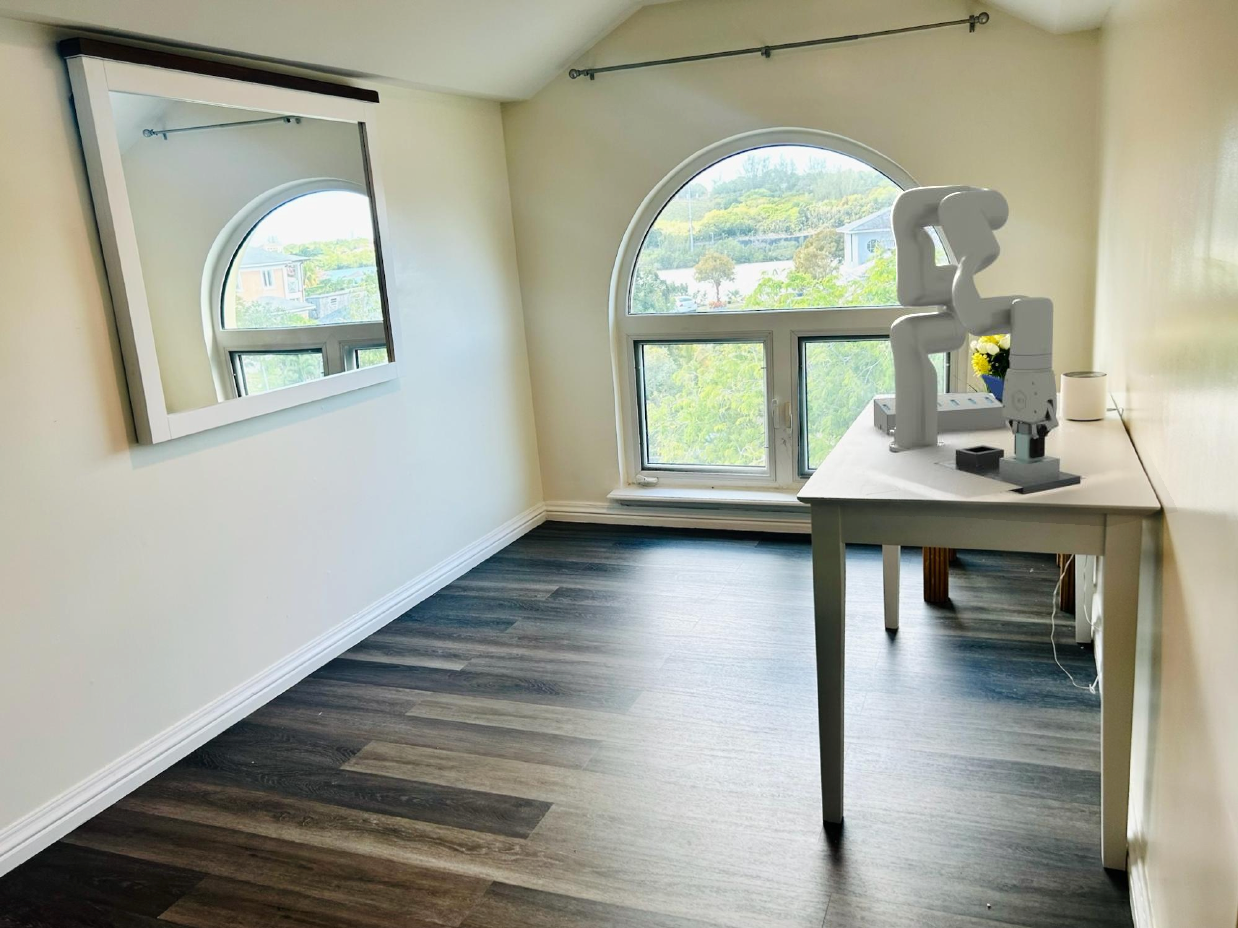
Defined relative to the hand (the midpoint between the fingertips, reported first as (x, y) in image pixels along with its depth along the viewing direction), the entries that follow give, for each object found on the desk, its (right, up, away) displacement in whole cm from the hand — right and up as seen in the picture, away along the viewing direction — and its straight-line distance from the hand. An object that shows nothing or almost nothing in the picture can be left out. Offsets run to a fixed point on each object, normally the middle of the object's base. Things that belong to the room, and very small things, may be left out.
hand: (1029, 454), depth 188 cm
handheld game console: (+32, +14, +85) cm, 92 cm away
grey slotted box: (+3, +8, +64) cm, 65 cm away
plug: (0, -3, +1) cm, 4 cm away
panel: (-2, -4, +8) cm, 9 cm away
